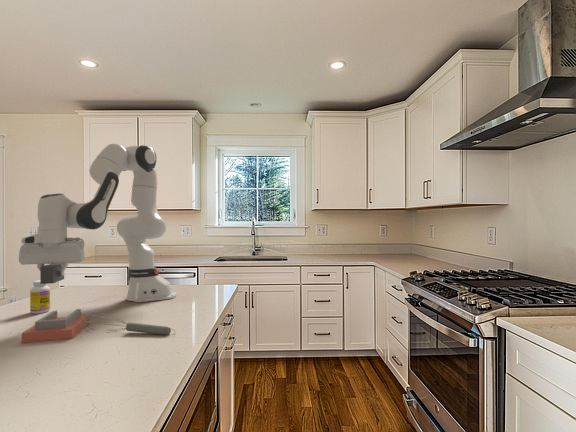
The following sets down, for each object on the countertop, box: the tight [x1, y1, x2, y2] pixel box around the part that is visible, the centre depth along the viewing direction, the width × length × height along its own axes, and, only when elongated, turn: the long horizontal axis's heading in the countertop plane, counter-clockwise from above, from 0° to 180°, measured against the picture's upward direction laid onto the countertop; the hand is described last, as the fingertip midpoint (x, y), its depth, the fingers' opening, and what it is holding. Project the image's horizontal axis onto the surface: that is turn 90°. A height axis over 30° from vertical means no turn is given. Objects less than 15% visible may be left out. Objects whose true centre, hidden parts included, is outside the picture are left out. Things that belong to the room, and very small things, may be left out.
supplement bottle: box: [29, 279, 51, 315], centre depth 142 cm, size 7×7×13 cm
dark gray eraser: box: [39, 263, 65, 285], centre depth 125 cm, size 4×9×6 cm, turn 12°
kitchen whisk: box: [81, 312, 176, 336], centre depth 115 cm, size 6×34×6 cm, turn 81°
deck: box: [21, 308, 90, 344], centre depth 116 cm, size 14×16×6 cm
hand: (52, 276), depth 125 cm, fingers closed on dark gray eraser, 4 cm apart
